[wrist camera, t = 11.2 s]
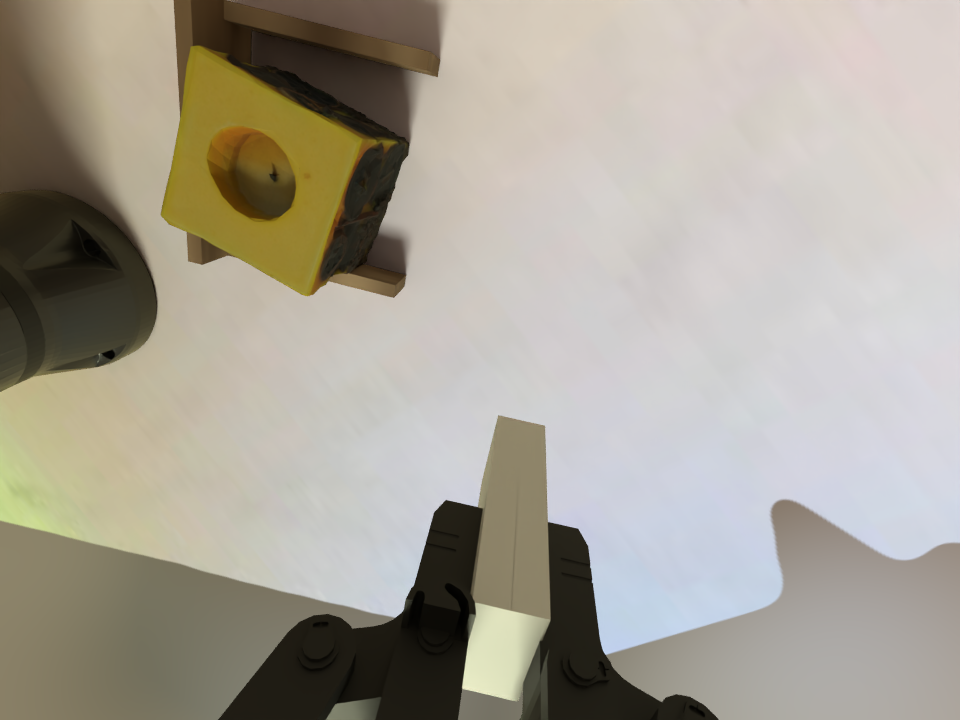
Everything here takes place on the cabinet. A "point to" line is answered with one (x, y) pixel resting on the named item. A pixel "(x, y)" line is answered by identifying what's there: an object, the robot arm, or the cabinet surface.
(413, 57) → the dock
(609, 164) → the cabinet surface
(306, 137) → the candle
